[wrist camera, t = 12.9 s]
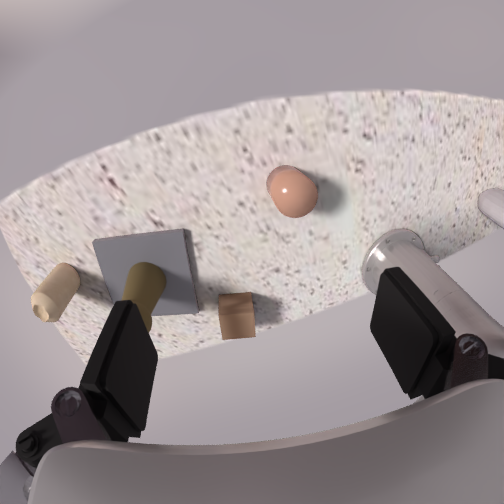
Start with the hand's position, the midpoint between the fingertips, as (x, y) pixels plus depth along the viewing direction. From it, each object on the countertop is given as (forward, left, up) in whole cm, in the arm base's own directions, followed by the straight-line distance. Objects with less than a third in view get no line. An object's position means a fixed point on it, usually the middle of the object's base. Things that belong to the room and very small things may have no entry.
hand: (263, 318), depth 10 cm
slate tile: (+15, +14, -27) cm, 34 cm away
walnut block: (+2, +21, -28) cm, 35 cm away
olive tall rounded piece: (+14, +14, -27) cm, 33 cm away
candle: (+30, +13, -28) cm, 43 cm away
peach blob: (-6, +2, -27) cm, 28 cm away
